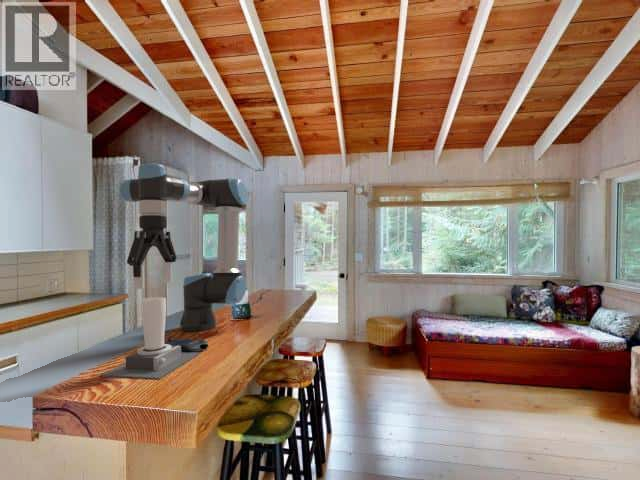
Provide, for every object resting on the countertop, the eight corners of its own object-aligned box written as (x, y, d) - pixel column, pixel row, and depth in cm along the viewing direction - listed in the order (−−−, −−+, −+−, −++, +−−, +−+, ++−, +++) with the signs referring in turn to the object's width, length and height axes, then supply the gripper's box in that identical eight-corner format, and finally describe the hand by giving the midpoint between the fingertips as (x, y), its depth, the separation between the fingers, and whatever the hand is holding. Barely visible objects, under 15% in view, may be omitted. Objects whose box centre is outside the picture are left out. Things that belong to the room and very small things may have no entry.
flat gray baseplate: (151, 352, 119) (151, 337, 119) (200, 353, 116) (200, 339, 116) (100, 376, 97) (99, 359, 97) (159, 379, 94) (159, 361, 94)
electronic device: (159, 356, 119) (197, 353, 115) (158, 340, 120) (196, 335, 116) (177, 352, 128) (213, 349, 124) (176, 336, 129) (212, 332, 125)
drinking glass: (147, 345, 110) (146, 297, 110) (170, 344, 110) (169, 296, 110) (138, 352, 103) (137, 300, 103) (162, 351, 103) (161, 299, 104)
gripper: (166, 218, 120) (167, 280, 120) (111, 212, 95) (112, 291, 95) (186, 217, 119) (188, 280, 119) (136, 211, 94) (137, 291, 94)
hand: (154, 285), depth 107 cm, fingers open, 13 cm apart
